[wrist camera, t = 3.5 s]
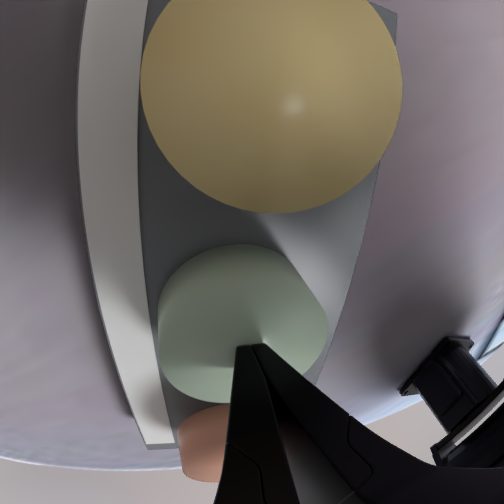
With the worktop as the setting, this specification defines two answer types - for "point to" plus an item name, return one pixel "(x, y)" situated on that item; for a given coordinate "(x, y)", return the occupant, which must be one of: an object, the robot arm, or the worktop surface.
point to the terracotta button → (204, 443)
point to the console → (176, 216)
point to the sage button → (234, 317)
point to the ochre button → (271, 97)
